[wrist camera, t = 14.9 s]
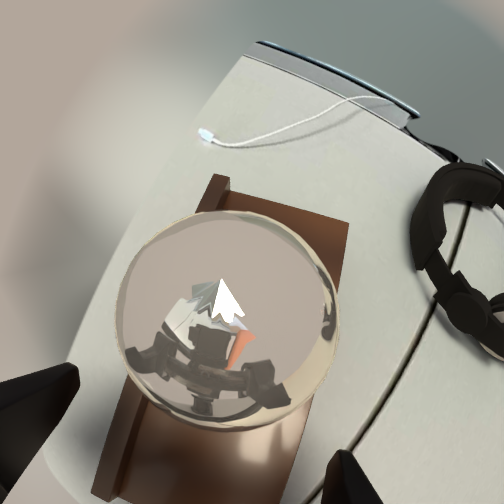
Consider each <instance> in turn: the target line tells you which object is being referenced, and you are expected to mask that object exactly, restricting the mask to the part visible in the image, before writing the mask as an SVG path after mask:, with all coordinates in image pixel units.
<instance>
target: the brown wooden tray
mask: <svg viewBox="0 0 504 504" xmlns="http://www.w3.org/2000/svg"><path fill="white" fill-rule="evenodd" d="M222 209H233V210H243V211H249V212H253V213H257V214H260V215H264V216H267V217H269V218H271V219H273V220H275V221H278V222H280V223H282V224H284V225H285V226H287V227H288V228H289V229H291V230H292V231H294V232H295V233H296V234H298V235H299V236H300V237H301V238H302V239H303V240H304V241H305V242H306V243H307V244H308V245H309V246H310V247H311V248H312V249H313V250H314V251H315V252H316V254H317V255H318V256H319V258H320V259H321V261H322V262H323V264H324V266H325V267H326V269H327V270H328V272H329V274H330V277H331V279H332V282H333V284H334V287H335V289H336V293H337V292H338V287H339V281H340V276H341V270H342V265H343V259H344V253H345V247H346V240H347V234H348V227H349V223H347V222H344V221H341V220H337V219H334V218H330V217H327V216H323V215H320V214H316V213H313V212H309V211H306V210H302V209H299V208H295V207H291V206H288V205H284V204H280V203H277V202H273V201H269V200H265V199H262V198H258V197H254V196H250V195H246V194H242V193H238V192H234V191H230V177H227V176H223V175H219V174H213V176H212V178H211V180H210V182H209V184H208V186H207V189H206V191H205V193H204V195H203V197H202V199H201V201H200V203H199V205H198V207H197V210H196V212H195V214H196V213H200V212H205V211H209V210H222ZM313 396H314V394H313V395H312V397H311V398H310V399H309V400H308V401H306V402H305V403H304V404H303V405H302V406H300V407H299V408H298V409H297V410H296V411H295V412H293V413H292V414H290V415H288V416H286V417H285V418H283V419H281V420H279V421H277V422H275V423H273V424H271V425H268V426H264V427H261V428H257V429H254V430H250V431H244V432H229V433H222V432H214V431H207V430H201V429H197V428H195V427H192V426H189V425H186V424H184V423H181V422H178V421H176V420H175V419H173V418H171V417H170V416H168V415H167V414H165V413H163V412H162V411H160V410H159V409H157V408H156V407H155V406H154V405H153V404H152V403H151V402H150V401H149V400H148V399H147V398H146V397H145V396H144V395H143V394H142V393H141V392H140V391H139V389H138V388H137V386H136V385H135V383H134V382H133V380H132V379H131V377H130V376H129V374H128V376H127V379H126V381H125V384H124V387H123V390H122V393H121V396H120V399H119V402H118V404H117V407H116V410H115V413H114V416H113V419H112V422H111V426H110V429H109V432H108V435H107V438H106V441H105V445H104V448H103V451H102V454H101V458H100V461H99V465H98V468H97V471H96V475H95V479H94V482H93V486H92V489H91V494H93V495H95V496H97V497H99V498H101V499H102V500H104V501H106V502H110V501H112V500H114V499H115V498H117V497H120V498H122V499H124V500H126V501H128V502H130V503H133V504H279V503H280V500H281V498H282V495H283V492H284V489H285V487H286V484H287V481H288V478H289V475H290V472H291V469H292V466H293V463H294V460H295V457H296V454H297V451H298V448H299V444H300V441H301V438H302V435H303V431H304V428H305V424H306V421H307V418H308V414H309V411H310V407H311V403H312V400H313Z"/></svg>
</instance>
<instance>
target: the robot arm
mask: <svg viewBox="0 0 504 504" xmlns="http://www.w3.org/2000/svg"><path fill="white" fill-rule="evenodd" d="M79 388H80V377H79V370H78V367H77V366H75V365H73V364H71V363H69V362H66V363H63V364H60V365H56V366H53V367H50V368H47V369H44V370H40V371H37V372H34V373H31V374H27V375H24V376H21V377H17V378H14V379H10V380H7V381H3V382H0V504H2V503H3V501H4V500H5V499H6V497H7V496H8V494H9V492H10V491H11V489H12V488H13V486H14V485H15V483H16V482H17V480H18V479H19V477H20V476H21V475H22V473H23V472H24V470H25V469H26V468H27V466H28V465H29V463H30V462H31V460H32V459H33V457H34V456H35V455H36V453H37V452H38V450H39V449H40V448H41V447H42V445H43V444H44V442H45V441H46V440H47V438H48V437H49V436H50V434H51V433H52V431H53V430H54V429H55V427H56V426H57V425H58V423H59V422H60V420H61V419H62V417H63V416H64V414H65V412H66V411H67V409H68V407H69V405H70V404H71V402H72V400H73V398H74V397H75V395H76V393H77V392H78V390H79ZM321 504H383V502H382V500H381V499H380V497H379V496H378V494H377V492H376V491H375V489H374V488H373V486H372V484H371V483H370V481H369V480H368V478H367V476H366V475H365V473H364V472H363V470H362V468H361V467H360V465H359V464H358V462H357V460H356V459H355V457H354V456H353V454H352V452H351V451H349V450H342V449H339V450H337V451H336V453H335V454H334V456H333V457H332V458H331V460H330V461H329V463H328V465H327V469H326V475H325V482H324V488H323V494H322V499H321Z"/></svg>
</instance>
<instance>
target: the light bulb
mask: <svg viewBox="0 0 504 504" xmlns="http://www.w3.org/2000/svg"><path fill="white" fill-rule="evenodd" d="M114 326H115V333H116V339H117V345H118V349H119V352H120V355H121V357H122V360H123V362H124V365H125V367H126V370H127V372H128V374H129V376H130V377H131V379H132V380H133V382H134V383H135V385H136V386H137V388H138V389H139V391H140V392H141V393H142V394H143V395H144V396H145V397H146V398H147V399H148V400H149V401H150V402H151V403H152V404H153V405H154V406H155V407H156V408H157V409H159V410H160V411H162V412H163V413H165V414H167V415H168V416H170V417H171V418H173V419H175V420H176V421H178V422H181V423H184V424H186V425H189V426H192V427H195V428H197V429H201V430H207V431H214V432H222V433H229V432H244V431H250V430H254V429H257V428H261V427H264V426H268V425H271V424H273V423H275V422H277V421H279V420H281V419H283V418H285V417H286V416H288V415H290V414H292V413H293V412H295V411H296V410H297V409H298V408H299V407H300V406H302V405H303V404H304V403H305V402H306V401H308V400H309V399H310V398H311V397H312V395H313V394H314V393H315V392H316V390H317V389H318V388H319V386H320V385H321V384H322V382H323V381H324V380H325V378H326V376H327V374H328V371H329V369H330V367H331V365H332V363H333V361H334V358H335V354H336V349H337V345H338V341H339V330H340V309H339V304H338V298H337V293H336V289H335V287H334V284H333V282H332V279H331V277H330V274H329V272H328V270H327V269H326V267H325V266H324V264H323V262H322V261H321V259H320V258H319V256H318V255H317V254H316V252H315V251H314V250H313V249H312V248H311V247H310V246H309V245H308V244H307V243H306V242H305V241H304V240H303V239H302V238H301V237H300V236H299V235H298V234H296V233H295V232H294V231H292V230H291V229H289V228H288V227H287V226H285V225H284V224H282V223H280V222H278V221H275V220H273V219H271V218H269V217H267V216H264V215H260V214H257V213H253V212H249V211H243V210H233V209H222V210H209V211H205V212H200V213H196V214H192V215H189V216H187V217H184V218H182V219H180V220H177V221H175V222H173V223H171V224H170V225H168V226H167V227H165V228H163V229H162V230H160V231H159V232H157V233H156V234H155V235H154V236H153V237H152V238H151V239H150V240H149V241H148V242H146V243H145V244H144V245H143V247H142V248H141V249H140V251H139V252H138V253H137V255H136V256H135V257H134V259H133V260H132V261H131V263H130V265H129V267H128V270H127V272H126V274H125V276H124V278H123V280H122V282H121V284H120V288H119V292H118V296H117V300H116V304H115V322H114Z"/></svg>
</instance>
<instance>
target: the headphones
mask: <svg viewBox="0 0 504 504" xmlns="http://www.w3.org/2000/svg"><path fill="white" fill-rule="evenodd" d="M452 199H462V200H467V201H473V202H476V203H478V204H481V205H484V206H489V207H490V208H493V207H494V206H495V204H498V205H499V206H500V207H501V208H502V209H503V210H504V177H502V176H501V175H499V174H497V173H495V172H494V171H492V170H490V169H488V168H485V167H483V166H479V165H476V164H471V163H465V162H456V163H450V164H447V165H445V166H443V167H441V168H440V169H439V170H438V171H437V172H436V173H435V174H434V175H433V177H432V178H431V180H430V182H429V184H428V185H427V187H426V189H425V191H424V193H423V195H422V197H421V199H420V201H419V203H418V205H417V206H416V208H415V210H414V213H413V215H412V219H411V225H410V240H411V247H412V254H413V259H414V263H415V268H416V270H421V271H423V269H424V268H425V270H426V272H427V273H428V275H429V277H430V279H431V281H432V282H433V284H434V286H435V287H436V289H437V290H438V292H437V293H436V294H435V295H434V296H433V297H434V298H435V299H436V300H437V302H438V303H439V304H440V305H441V306H442V307H443V308H444V310H445V311H446V313H447V316H448V318H449V320H450V321H451V323H452V324H453V325H454V326H455V327H456V328H457V329H458V330H460V331H462V332H464V333H466V334H470V335H472V336H473V337H474V338H475V339H476V340H478V341H479V343H480V344H481V345H482V347H483V348H484V349H485V350H486V351H487V352H488V353H490V354H491V355H492V356H494V357H496V358H497V359H499V360H502V361H504V293H501V294H498V295H496V296H495V297H493V298H492V299H491V300H490V301H488V300H487V298H486V297H485V296H484V295H483V294H482V293H481V292H480V291H478V290H477V289H474V288H472V287H471V286H470V284H469V283H468V281H467V280H466V279H465V277H464V276H463V274H462V273H461V272H460V270H459V271H457V272H456V273H455V274H454V275H453V274H452V273H451V271H450V269H449V268H448V266H447V264H446V262H445V261H444V259H443V257H442V256H441V254H440V252H439V250H438V248H439V247H440V246H441V244H442V243H443V241H442V240H443V239H444V237H445V235H446V232H447V230H446V224H445V219H444V212H443V202H445V201H447V200H452Z"/></svg>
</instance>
